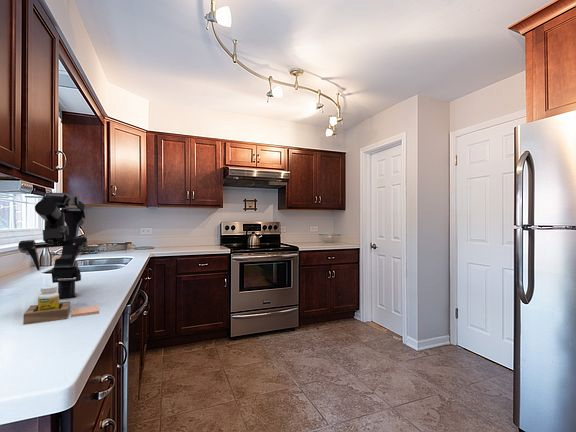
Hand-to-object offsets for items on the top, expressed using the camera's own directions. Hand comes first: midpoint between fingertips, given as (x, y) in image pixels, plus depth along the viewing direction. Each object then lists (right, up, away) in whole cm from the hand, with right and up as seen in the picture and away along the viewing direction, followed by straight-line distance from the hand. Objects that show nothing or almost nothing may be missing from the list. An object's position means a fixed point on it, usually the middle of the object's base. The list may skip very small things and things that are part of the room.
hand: (55, 268), depth 104 cm
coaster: (+11, -15, -1) cm, 18 cm away
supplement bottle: (+2, -15, -6) cm, 16 cm away
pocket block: (+2, -15, -6) cm, 16 cm away
